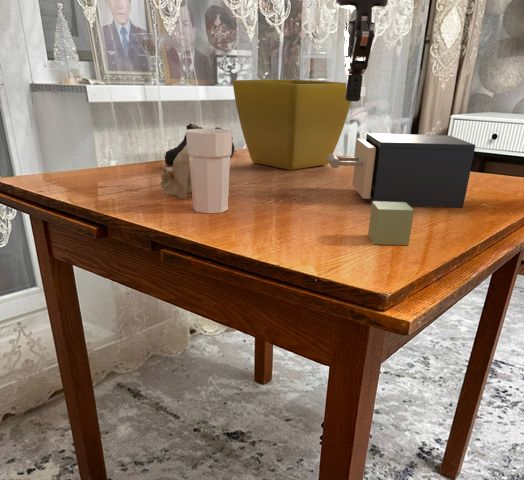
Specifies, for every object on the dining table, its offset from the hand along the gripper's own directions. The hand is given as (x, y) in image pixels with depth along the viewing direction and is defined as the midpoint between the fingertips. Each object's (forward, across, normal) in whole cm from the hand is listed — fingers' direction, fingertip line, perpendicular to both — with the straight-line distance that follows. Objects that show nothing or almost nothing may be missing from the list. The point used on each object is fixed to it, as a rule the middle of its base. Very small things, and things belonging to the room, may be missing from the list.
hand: (352, 100), depth 86 cm
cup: (+15, -12, +22) cm, 29 cm away
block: (+15, -26, -2) cm, 30 cm away
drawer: (+14, 0, -6) cm, 15 cm away
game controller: (+15, +24, +27) cm, 39 cm away
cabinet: (+15, 0, -11) cm, 19 cm away
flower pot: (+15, +33, +8) cm, 37 cm away
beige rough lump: (+15, -2, +28) cm, 32 cm away
